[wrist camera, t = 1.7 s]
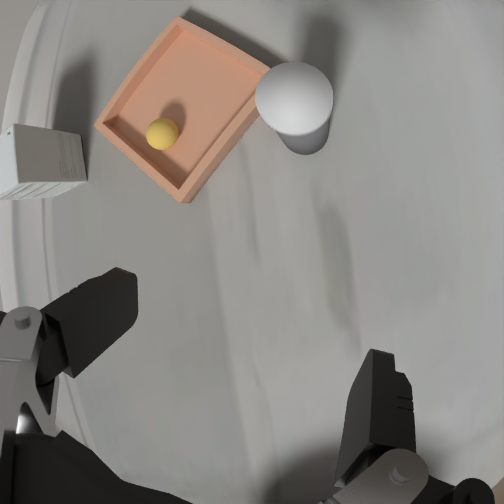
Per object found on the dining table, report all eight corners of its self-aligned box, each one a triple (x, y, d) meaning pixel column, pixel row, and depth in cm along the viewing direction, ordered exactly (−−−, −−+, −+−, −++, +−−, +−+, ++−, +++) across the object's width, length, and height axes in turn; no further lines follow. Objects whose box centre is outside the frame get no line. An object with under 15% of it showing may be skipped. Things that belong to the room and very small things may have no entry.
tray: (185, 25, 33) (176, 15, 30) (285, 85, 32) (282, 75, 29) (106, 129, 37) (93, 125, 34) (190, 202, 36) (179, 203, 33)
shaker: (300, 98, 32) (287, 49, 20) (340, 129, 31) (349, 91, 19) (269, 135, 33) (239, 102, 21) (308, 167, 33) (300, 148, 21)
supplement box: (48, 152, 40) (-16, 147, 28) (82, 133, 38) (13, 121, 26) (54, 198, 41) (-13, 203, 28) (88, 183, 39) (17, 183, 27)
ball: (168, 116, 34) (153, 108, 31) (189, 132, 34) (175, 126, 30) (150, 140, 35) (134, 136, 32) (170, 157, 35) (155, 154, 31)
